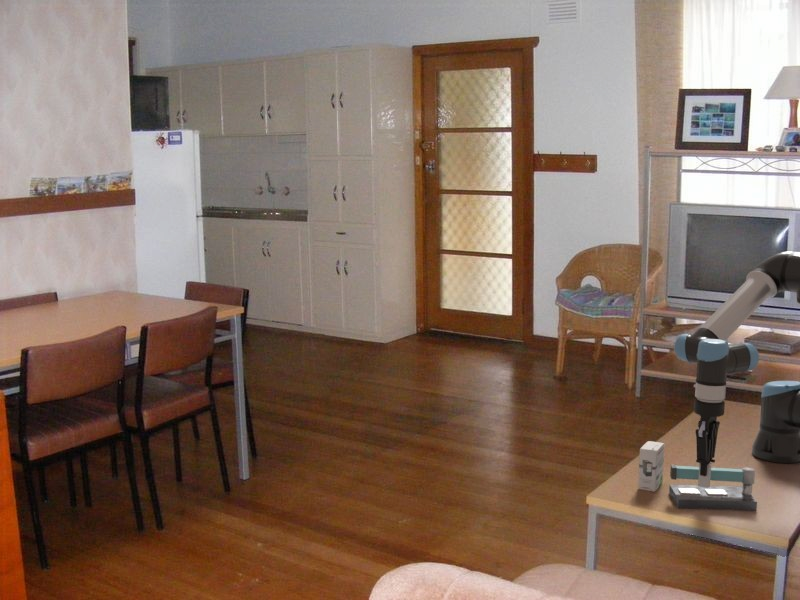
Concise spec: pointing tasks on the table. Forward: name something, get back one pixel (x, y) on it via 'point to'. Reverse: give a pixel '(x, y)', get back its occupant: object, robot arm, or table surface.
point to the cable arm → (714, 474)
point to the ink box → (651, 466)
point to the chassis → (713, 497)
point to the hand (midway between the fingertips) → (703, 486)
